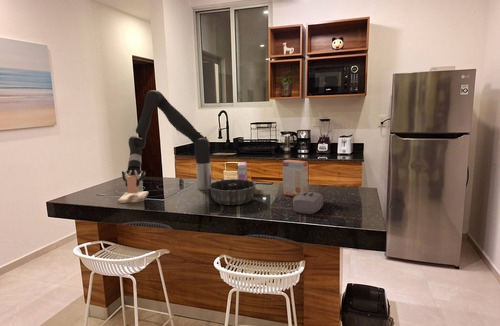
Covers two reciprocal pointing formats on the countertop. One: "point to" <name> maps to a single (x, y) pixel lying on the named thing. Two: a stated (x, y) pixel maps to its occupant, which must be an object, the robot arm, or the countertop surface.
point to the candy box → (242, 170)
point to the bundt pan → (232, 191)
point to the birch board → (133, 197)
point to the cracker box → (295, 177)
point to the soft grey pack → (307, 202)
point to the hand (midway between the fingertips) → (132, 186)
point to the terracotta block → (132, 184)
